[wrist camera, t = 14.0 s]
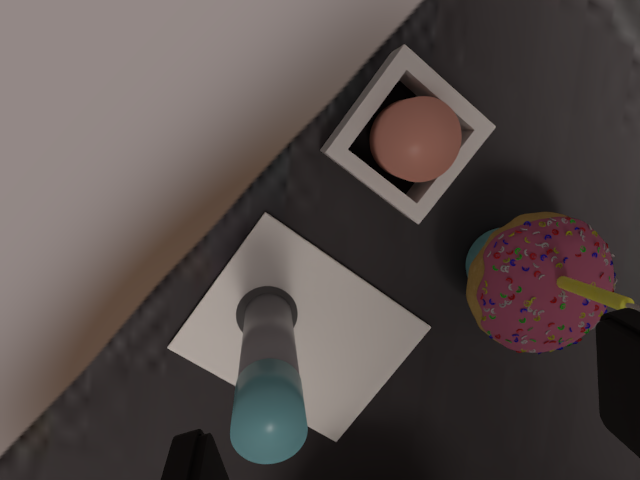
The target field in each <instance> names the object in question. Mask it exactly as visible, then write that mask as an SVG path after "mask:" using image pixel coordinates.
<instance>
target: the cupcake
mask: <svg viewBox="0 0 640 480" xmlns="http://www.w3.org/2000/svg"><path fill="white" fill-rule="evenodd" d="M612 255H613V254H610V251H609V249H608V244H607V243H605V242H604V240H603V239H602V238H601V237H600V236H599V235H598V234H597V232H596V231H594V230H593V229H592V228H591V226H590V224H586V223H585V222H583V221H581V220H578V219H574V218H571V217H568V216H565V215H562V214H559V213H553V212H538V213H529V214H522V215H519V216H517V217H516V218H514V219H513V220H512V221H510V222H509V223H508V224H506V225H505V226H503V227H501V228H496V229H492V230H490V231H488V232H486V233H484V234H483V235H481V236H480V237H479V238H478V239H477V240H476V241H475V242H474V243H473V245H472V246H471V248H470V250H469V252H468V254H467V258H466V273H467V277H468V281H467V288H466V298H467V302H468V304H469V307H470V309H471V312H472V314H473V315H474V317H475V319H476V322H477V324H478V326H479V328H480V329H481V330H482V331H484V332H485V333H486V334H488V335H489V337H490V338H492V339H494V340H495V341H497V342H498V343H500V344H502V345H503V346H505V347H507V348H509V349H511V350H515V351H516V352H518V353H520V352H530V353H538V354H540V353H542V352H547V351H549V352H552V351H554V350H555V349H557V350H561V349H563V347H564V346H570V345H571V344H577V343H578V342H579V341H581V340H582V339H581V337H582V336H584V335H585V334H586V333H588V332H589V331H590V330H592V329H594V328H595V327H596V325H597V323H598V322H600V321H599V320H600V318H601V316H602V315H603V314H605V313H606V312H607V310H606V308H607V306H608V307H612V308H614V309H617V310H619V309H623V308H632V309H636V310H640V305H636V304H634V301H633V300H632V299H631V298H629V297H626V296H623V295H620V294H617V293H614V290H615V288H616V286H615V283H616V282H617V279H616V278H615V276H616V274H615V273H614V270H613V262H612V257H615V255H613V256H612ZM579 339H580V340H579ZM573 342H574V343H573ZM558 348H559V349H558Z"/></svg>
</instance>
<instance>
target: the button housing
mask: <svg viewBox="0 0 640 480" xmlns="http://www.w3.org/2000/svg"><path fill="white" fill-rule="evenodd" d="M398 81H400V82H402V83H403V84H404V85H405V86H406V87H407V88H408V89H410V90H411V91H412V92H413V93H414V94H415V95H416V96H418V97H419V96H429V97H434V98H437V99H439V100H441V101H443V102H445V103H446V104H447V105H448V106H449V107H450V108H451V109H452V110H453V111H454V113H455V114H456V116H457V118H458V120H459V123H460V127H461V133H462V140H461V146H460V150H459V153H458V155H457V158H456V159H455V161H454V163H453V164H452V166H451V167H450V168H449V169H448V170H447V171H446V172H445V173H443V174H442V175H441V176H439V177H437V178H435V179H433V180H430V181H426V182H415V183H414V184H413V186H412V187H411V188H410V190H409V191H408V192H407V193H406V195H405V194H404V193H403V192H402V191H400V190H399V189H398V188H396V187H395V186H394V185H393V184H391V183H390V182H389V181H387V180H386V179H385V178H384V177H382V176H381V175H380V174H379V173H377V172H376V171H375V170H373V169H372V168H371V167H370V166H368V165H367V164H366V163H365V162H363V161H362V160H361V159H359V158H358V157H357V156H356V155H354V154H353V153H352V152H350V151H349V150H348V148H349V147H350V146H351V144H352V143H353V142H354V140H355V139H356V138H357V136H358V135H359V134H360V132H361V131H362V129H363V128H364V127H365V125H366V124H367V123H368V121H369V120H370V119H371V117H372V116H373V115H374V113H375V112H376V110H377V109H378V108H379V106H380V105H381V104H382V102H383V101H384V100H385V98H386V97H387V96H388V94H389V93H390V91H391V90H392V89H393V87H394V86H395V85H396V83H397V82H398ZM495 128H496V126H495V125H494V124H493V123H492V122H490V121H489V120H488V119H487V118H486V117H485V116H484V115H483V114H482V113H480V112H479V111H478V110H477V109H476V108H475V107H474V106H473V105H472V104H470V103H469V102H468V101H467V100H466V99H465V98H464V97H463V96H462V95H461V94H459V93H458V92H457V91H456V90H455V89H454V88H453V87H452V86H451V85H449V84H448V83H447V82H446V81H445V80H444V79H443V78H442V77H441V76H439V75H438V74H437V73H436V72H435V71H434V70H433V69H432V68H431V67H429V66H428V65H427V64H426V63H425V62H424V61H423V60H422V59H421V58H420V57H418V56H417V55H416V54H415V53H414V52H413V51H412V50H411V49H410V48H408V47H407V46H406V45H405V44H404V45H402V46H401V47H399V48H397V49H396V50H394V51H392V52H391V53H390V54H389V56H388V57H387V59H386V60H385V61H384V63H383V64H382V65H381V67H380V68H379V70H378V71H377V72H376V74H375V75H374V76H373V78H372V79H371V81H370V82H369V83H368V85H367V86H366V87H365V89H364V90H363V92H362V93H361V94H360V96H359V97H358V98H357V100H356V101H355V103H354V104H353V105H352V107H351V108H350V109H349V111H348V112H347V114H346V115H345V116H344V118H343V119H342V120H341V122H340V123H339V125H338V126H337V127H336V129H335V130H334V131H333V133H332V134H331V136H330V137H329V138H328V140H327V141H326V142H325V144H324V145H323V147H322V148H321V149H320V151H321V152H322V153H324V154H325V155H326V156H328V157H329V158H330V159H332V160H333V161H334V162H335V163H337V164H338V165H339V166H341V167H342V168H343V169H345V170H346V171H347V172H348V173H350V174H351V175H352V176H354V177H355V178H356V179H358V180H359V181H360V182H362V183H363V184H364V185H365V186H367V187H368V188H369V189H371V190H372V191H373V192H375V193H376V194H377V195H378V196H380V197H381V198H382V199H384V200H385V201H386V202H388V203H389V204H390V205H392V206H393V207H394V208H395V209H397V210H398V211H399V212H401V213H402V214H403V215H405V216H406V217H408V218H409V219H411V220H412V221H414V222H415V223H417V224H418V225H419V224H420V223H421V221H422V220H423V219H424V217H425V216H426V215H427V214H428V212H429V211H430V210H431V209H432V207H433V206H434V205H435V204H436V202H437V201H438V200H439V198H440V197H441V196H442V195H443V193H444V192H445V191H446V190H447V188H448V187H449V186H450V185H451V183H452V182H453V181H454V179H455V178H456V177H457V176H458V174H459V173H460V172H461V171H462V169H463V168H464V167H465V166H466V164H467V163H468V162H469V160H470V159H471V158H472V157H473V155H474V154H475V153H476V152H477V150H478V149H479V148H480V147H481V145H482V144H483V143H484V141H485V140H486V139H487V138H488V136H489V135H490V134H491V133H492V131H493V130H494V129H495Z"/></svg>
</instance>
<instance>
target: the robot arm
mask: <svg viewBox="0 0 640 480" xmlns="http://www.w3.org/2000/svg"><path fill="white" fill-rule="evenodd" d="M596 345H597V367H598V389H599V411H600V417H601V419H602V421H603V423H604V425H605V426H606V428H607V429H608V430H609V431H610V432H611V433H613V434H614V435H615V436H616V437H617V438H618V439H619V440H620V441H621V442H623V443H624V444H625V445H626V446H627V447H628V448H629V449H630V450H632V451H633V452H634V453H635V454H636V455H637V456H638V457H639V458H640V312H639V311H637V310H635V309H632V308H623V309H619V310H616V311H612V312H609V313H605V314H603V315H602V316H601V318H600V322H598V323H597V325H596ZM161 480H229V478H228V475H227V473H226V470H225V467H224V465H223V462H222V459H221V457H220V454H219V452H218V449H217V446H216V444H215V441H214V438H213V436H212V435H211V433H208V434H204V433H203V431H202V430H201V429H197V430H194V431H190V432H187V433H183V434H180V435H176V436H175V437H174V438H173V440H172V444H171V447H170V450H169V454H168V457H167V461H166V464H165V467H164V471H163V474H162V478H161Z"/></svg>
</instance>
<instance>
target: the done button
mask: <svg viewBox="0 0 640 480" xmlns="http://www.w3.org/2000/svg"><path fill="white" fill-rule="evenodd" d="M461 140H462V133H461V127H460V123H459V120H458V118H457V116H456V114H455V113H454V111H453V110H452V109H451V108H450V107H449V106H448V105H447V104H446V103H445V102H443V101H441V100H439V99H437V98H434V97H429V96H419V97H414V98H409V99H404V100H399V101H396V102H393V103H392V104H390V105H388V106H387V107H385V108H384V109H383V110H382V111H381V112H380V113H379V114H378V116H377V117H376V119H375V120H374V122H373V125H372V127H371V131H370V138H369V143H370V150H371V153H372V156H373V158H374V160H375V161H376V163H377V164H378V165H379V167H380V168H382V169H383V170H384V171H385V172H387V173H389V174H391V175H394V176H396V177H399V178H401V179H404V180H407V181H411V182H426V181H430V180H433V179H435V178H437V177H439V176H441V175H442V174H443V173H445V172H446V171H447V170H448V169H449V168H450V167H451V166H452V164H453V163H454V161H455V159H456V158H457V155H458V153H459V150H460V146H461Z"/></svg>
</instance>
